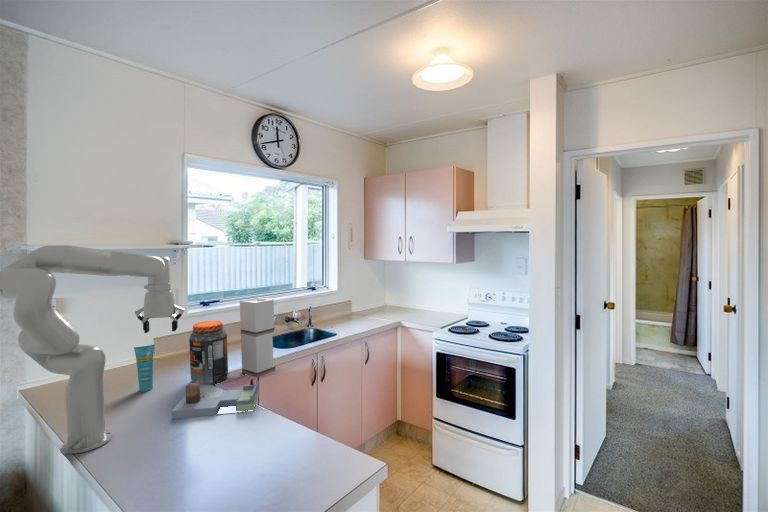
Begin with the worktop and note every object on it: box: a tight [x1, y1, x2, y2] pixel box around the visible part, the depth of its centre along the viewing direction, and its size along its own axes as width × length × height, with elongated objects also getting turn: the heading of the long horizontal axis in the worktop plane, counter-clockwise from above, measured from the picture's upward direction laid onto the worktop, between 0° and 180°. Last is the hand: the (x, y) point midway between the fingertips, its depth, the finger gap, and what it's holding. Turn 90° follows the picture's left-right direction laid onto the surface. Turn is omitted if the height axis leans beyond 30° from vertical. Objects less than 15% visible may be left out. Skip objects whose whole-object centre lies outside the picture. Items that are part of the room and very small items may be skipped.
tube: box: [133, 344, 155, 392], centre depth 162 cm, size 7×5×19 cm, turn 123°
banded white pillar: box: [239, 297, 276, 378], centre depth 182 cm, size 11×11×35 cm
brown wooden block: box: [184, 382, 201, 404], centre depth 144 cm, size 5×5×6 cm
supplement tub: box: [188, 320, 229, 385], centre depth 173 cm, size 16×16×26 cm
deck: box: [171, 380, 260, 420], centre depth 145 cm, size 15×28×6 cm, turn 101°
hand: (160, 331), depth 148 cm, fingers open, 9 cm apart
